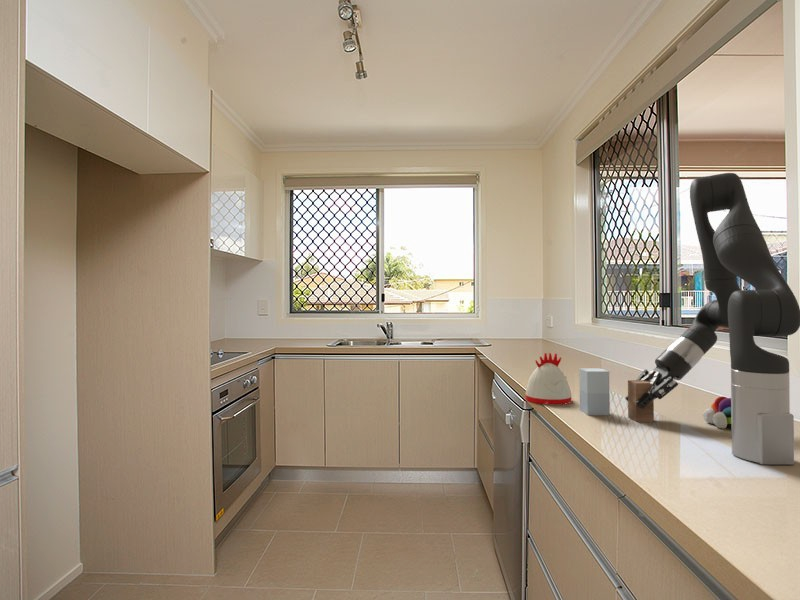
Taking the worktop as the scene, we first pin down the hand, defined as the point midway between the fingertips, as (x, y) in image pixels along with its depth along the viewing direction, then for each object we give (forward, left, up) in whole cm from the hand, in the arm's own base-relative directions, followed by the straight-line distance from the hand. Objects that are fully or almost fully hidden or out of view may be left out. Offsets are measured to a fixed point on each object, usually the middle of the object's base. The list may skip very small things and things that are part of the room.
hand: (633, 403), depth 123 cm
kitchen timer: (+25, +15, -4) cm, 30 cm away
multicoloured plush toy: (-6, -20, -5) cm, 22 cm away
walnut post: (0, -2, -4) cm, 5 cm away
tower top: (+8, +7, +2) cm, 11 cm away
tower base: (+8, +7, -4) cm, 12 cm away
